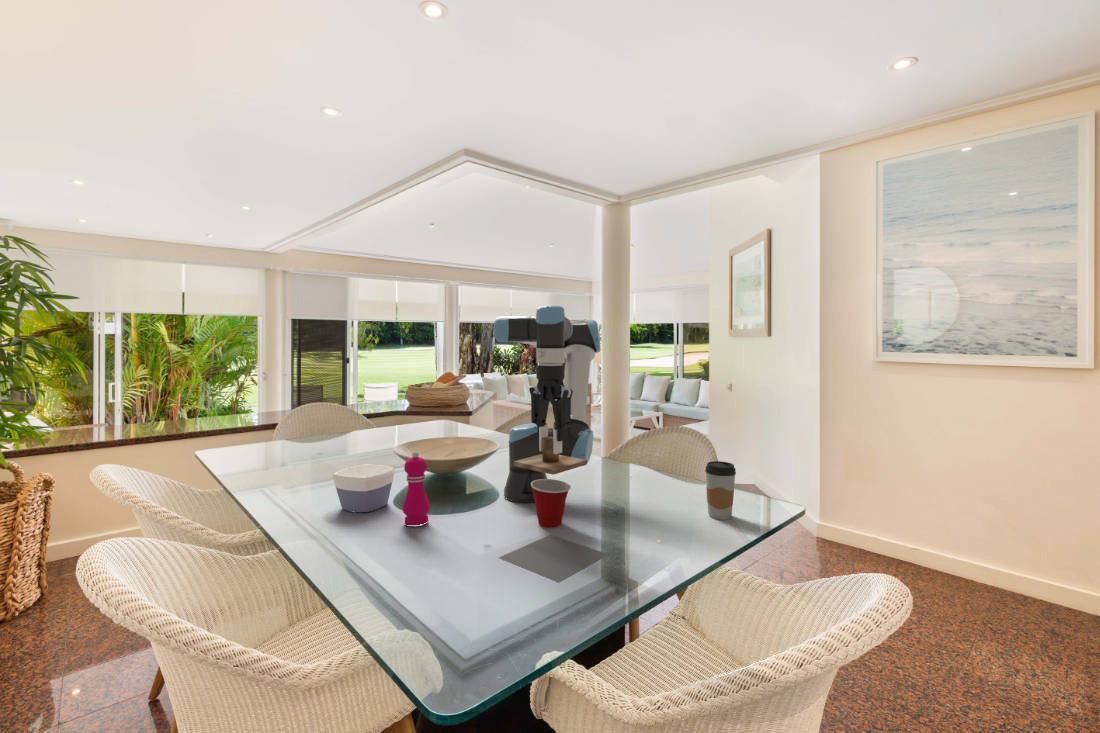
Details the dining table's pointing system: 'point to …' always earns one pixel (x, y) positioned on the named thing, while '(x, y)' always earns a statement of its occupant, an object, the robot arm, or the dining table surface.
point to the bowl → (364, 487)
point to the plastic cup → (550, 501)
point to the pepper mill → (416, 491)
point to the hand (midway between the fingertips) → (550, 451)
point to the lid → (550, 460)
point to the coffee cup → (720, 489)
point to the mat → (554, 557)
